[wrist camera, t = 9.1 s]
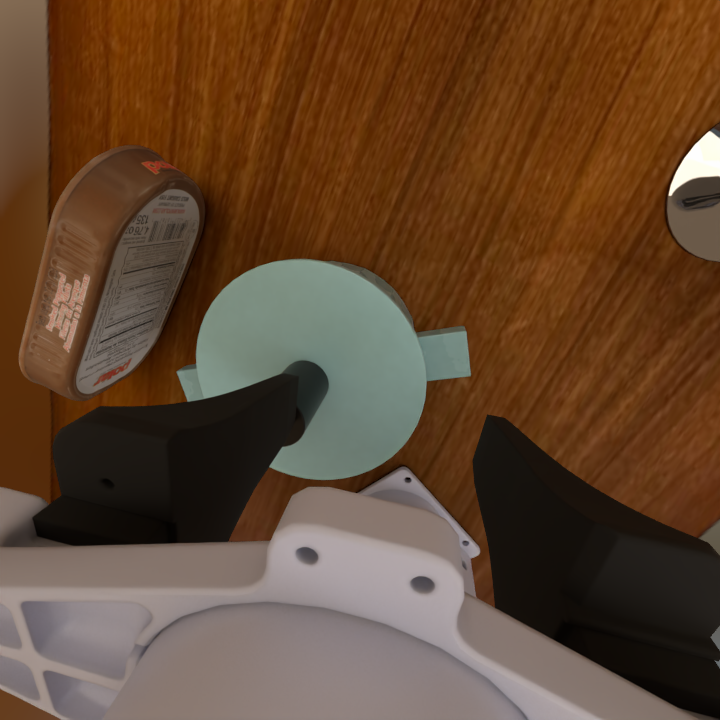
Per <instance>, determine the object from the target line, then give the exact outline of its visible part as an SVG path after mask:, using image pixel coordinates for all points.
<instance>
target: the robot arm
mask: <svg viewBox="0 0 720 720" xmlns="http://www.w3.org/2000/svg"><path fill="white" fill-rule="evenodd" d="M298 383H299V376H296V375H291V374H286V373H283V374H279V375H276V376H273V377H271V378H268V379H265V380H263V381H260V382H258V383H255V384H252V385H250V386H247V387H244V388H241V389H238V390H235V391H232V392H229V393H226V394H222V395H218V396H215V397H210V398H206V399H201V400H196V401H189V402H183V403H176V404H168V405H156V406H136V407H108V406H100V407H98V408H96V409H94V410H92V411H91V412H89V413H87V414H86V415H84V416H82V417H80V418H79V419H77V420H75V421H74V422H72V423H70V424H68V425H67V426H65V427H63V428H62V429H60V431H59V432H58V433H57V435H56V436H55V439H54V443H53V459H54V463H55V468H56V472H57V477H58V481H59V486H60V490H61V496H60V497H59V498H57V499H56V500H55V501H53V502H52V503H51V504H49V505H48V503H47V502H46V501H45V500H44V499H43V498H40V497H38V496H36V495H32V494H27V493H24V492H20V491H16V490H12V489H8V488H2V487H0V689H2V690H4V691H6V692H8V693H10V694H13V695H14V696H16V697H19V698H20V699H22V700H24V701H26V702H28V703H30V704H32V705H34V706H36V707H38V708H40V709H42V710H44V711H46V712H48V713H50V714H52V715H54V716H56V717H58V718H60V719H62V720H720V668H719V667H718V665H717V664H716V662H715V661H719V660H720V651H719V649H718V648H717V646H716V645H715V643H714V642H713V641H712V639H711V638H710V637H711V636H712V634H713V633H714V632H715V631H716V629H717V628H718V627H719V626H720V555H719V554H718V553H717V552H716V551H715V550H714V549H713V547H712V546H711V545H710V544H709V543H707V542H705V541H703V540H700V539H698V538H696V537H693V536H691V535H688V534H686V533H684V532H681V531H679V530H676V529H674V528H672V527H669V526H667V525H664V524H662V523H660V522H658V521H656V520H654V519H652V518H650V517H647V516H645V515H643V514H641V513H639V512H637V511H635V510H633V509H631V508H629V507H627V506H625V505H624V504H622V503H620V502H618V501H616V500H614V499H613V498H611V497H609V496H607V495H606V494H604V493H602V492H600V491H599V490H597V489H595V488H594V487H592V486H591V485H589V484H587V483H586V482H584V481H583V480H581V479H580V478H579V477H577V476H576V475H574V474H573V473H571V472H570V471H568V470H567V469H566V468H564V467H563V466H562V465H560V464H559V463H558V462H556V461H555V460H554V459H553V458H551V457H550V456H549V455H548V454H546V453H545V452H544V451H543V450H542V449H540V448H539V447H538V446H537V445H536V444H535V443H533V442H532V441H531V440H530V439H529V438H528V437H527V436H525V435H524V434H523V433H522V432H521V431H520V430H519V429H518V428H516V427H515V426H514V425H513V424H512V423H511V422H509V421H508V420H507V419H505V418H502V417H497V416H492V415H487V417H486V420H485V423H484V427H483V430H482V433H481V436H480V439H479V442H478V445H477V448H476V451H475V454H474V458H473V472H474V484H475V488H476V493H477V497H478V502H479V506H480V510H481V515H482V519H483V523H484V527H485V532H486V536H487V541H488V546H489V553H490V561H491V570H492V579H493V589H494V600H495V608H494V607H492V606H490V605H489V604H487V603H485V602H483V601H481V600H479V599H478V598H476V593H475V586H474V580H473V573H472V566H471V560H470V559H471V558H473V557H475V556H477V555H479V553H480V549H479V546H478V545H477V544H476V543H475V542H474V540H473V539H472V538H471V537H470V536H469V535H468V534H467V533H466V532H465V530H464V529H463V528H462V527H461V526H460V525H459V524H458V523H457V522H456V521H455V519H454V518H453V517H452V516H451V515H450V514H449V513H448V512H447V511H446V509H445V508H444V507H443V506H442V505H441V504H440V503H439V502H438V501H437V500H436V498H435V497H434V496H433V495H432V494H431V493H430V492H429V491H428V490H427V488H426V487H425V486H424V485H423V484H422V483H421V482H420V481H419V480H418V479H417V477H416V476H415V475H414V474H413V473H412V472H411V471H410V470H409V469H408V468H407V467H400V468H398V469H396V470H395V471H393V472H391V473H390V474H388V475H387V476H385V477H383V478H382V479H380V480H378V481H377V482H375V483H373V484H372V485H370V486H368V487H367V488H365V489H363V490H362V491H360V492H358V493H353V492H349V491H345V490H340V489H336V488H332V487H307V488H305V489H303V490H301V491H300V492H298V493H296V494H294V495H292V497H291V499H290V501H289V503H288V505H287V507H286V509H285V511H284V514H283V516H282V518H281V520H280V522H279V524H278V526H277V528H276V530H275V532H274V535H273V537H272V539H271V541H248V542H228V540H229V538H230V536H231V534H232V532H233V530H234V528H235V526H236V524H237V522H238V520H239V518H240V516H241V514H242V512H243V510H244V508H245V506H246V504H247V502H248V500H249V498H250V496H251V494H252V492H253V491H254V489H255V487H256V486H257V484H258V483H259V481H260V480H261V478H262V477H263V475H264V474H265V472H266V471H267V469H268V468H269V466H270V465H271V463H272V462H273V460H274V459H275V457H276V456H277V454H278V453H279V451H280V450H281V448H282V447H283V445H284V443H285V442H286V440H287V438H288V436H289V434H290V432H291V430H292V427H293V425H294V423H295V417H296V406H297V395H298ZM406 477H409V478H411V479H409V480H408V479H405V478H406ZM463 541H467V542H463ZM714 660H715V661H714Z"/></svg>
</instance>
